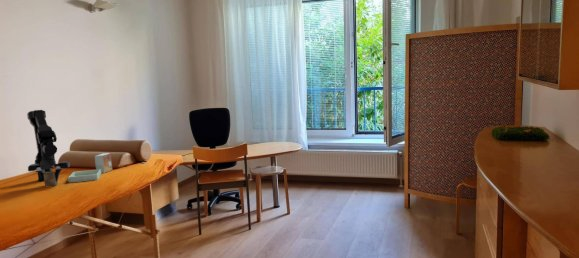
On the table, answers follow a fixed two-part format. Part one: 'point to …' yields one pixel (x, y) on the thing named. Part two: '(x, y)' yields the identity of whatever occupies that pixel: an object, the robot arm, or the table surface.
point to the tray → (84, 175)
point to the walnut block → (50, 178)
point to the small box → (103, 162)
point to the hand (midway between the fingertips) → (51, 182)
